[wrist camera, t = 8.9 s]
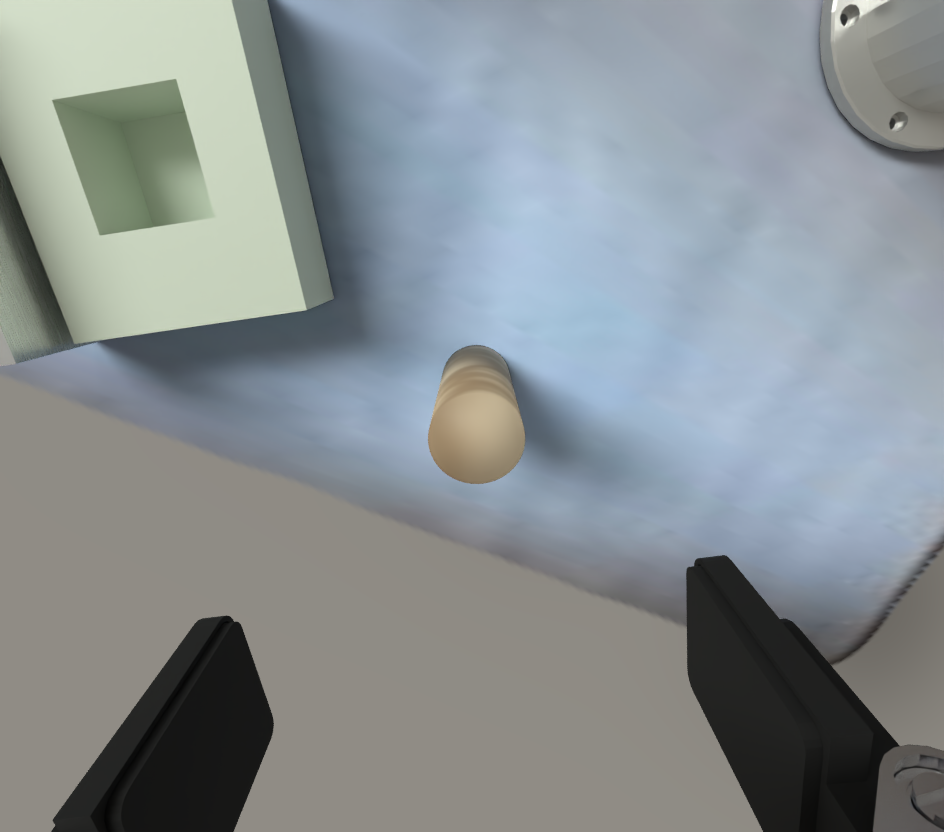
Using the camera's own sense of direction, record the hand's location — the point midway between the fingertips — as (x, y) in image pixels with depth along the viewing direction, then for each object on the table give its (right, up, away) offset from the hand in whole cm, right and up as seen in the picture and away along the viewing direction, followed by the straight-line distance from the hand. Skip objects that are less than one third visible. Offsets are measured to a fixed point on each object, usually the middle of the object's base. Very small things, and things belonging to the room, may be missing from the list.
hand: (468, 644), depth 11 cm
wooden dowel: (0, +7, +20) cm, 21 cm away
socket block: (-14, +17, +16) cm, 28 cm away
